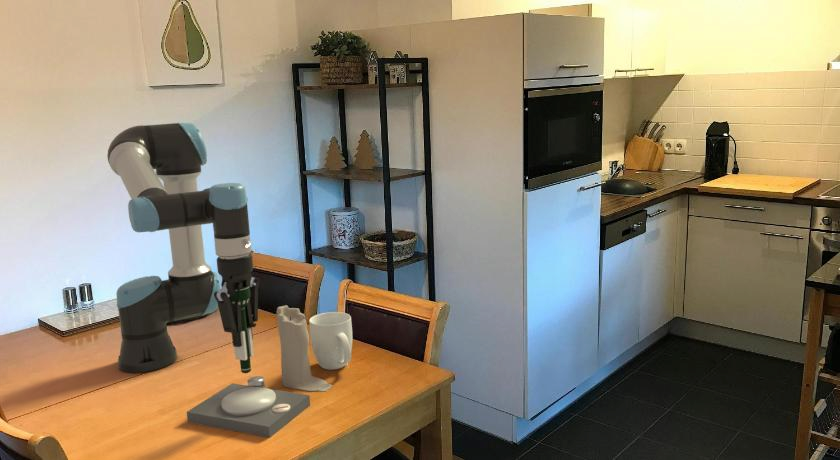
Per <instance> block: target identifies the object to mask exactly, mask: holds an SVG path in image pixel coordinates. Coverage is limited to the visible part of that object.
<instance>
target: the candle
mask: <svg viewBox="0 0 840 460" xmlns="http://www.w3.org/2000/svg"><path fill="white" fill-rule="evenodd" d="M276 324H277V330H278V335H279V341H280V353H281V354H280V364H281V365H280V369H281V370H280V371H281V380H282V381H281V382H282V385H283V386H284V387H285V388H291V389H295V390H300V391H305V392H317V391H318V392H328V391H329V390H330V389H331V388H332V387H333V384H331V383H327V381H326V380H325V379H322V378H319V377H315V376H313V375H312V371H311V365H310V352H309V350H310V349H309V345H310V332H309V331H308V324H307V320H306V316H305V314H304V313H302V312H301V311H300V308H298V307H297V308H296V307H291V308H290V307H289V306H288V305H286V304H285V305H282V306H278V307H277V308H276Z"/></svg>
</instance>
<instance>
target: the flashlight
mask: <svg viewBox="0 0 840 460" xmlns="http://www.w3.org/2000/svg"><path fill="white" fill-rule="evenodd" d="M237 290H238V289H235V296H229V299H230V302H231V303H235V302H236V301H237V299H238V291H237ZM239 299H240V302H239V303H238V304H239V305H240V306H241V322H242V331H245V339H246V349H247V360H239V363H240V372H241V373H242V374H249V373H250V372H251V371H252V366H251V357H250V354H249V344H248V334H247V324H246V314H245V306H246V305H247V303H248V301H249V299H250V287H249V285H248V286H247V287H244V288H241V289H240V291H239Z"/></svg>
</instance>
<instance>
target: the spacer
mask: <svg viewBox="0 0 840 460" xmlns="http://www.w3.org/2000/svg"><path fill="white" fill-rule="evenodd" d="M247 386H254V387H263V388H266V384H265V377H264V376H261V375H256V376H255V375H254V376H251V377H249V378H248V379H247Z"/></svg>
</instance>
